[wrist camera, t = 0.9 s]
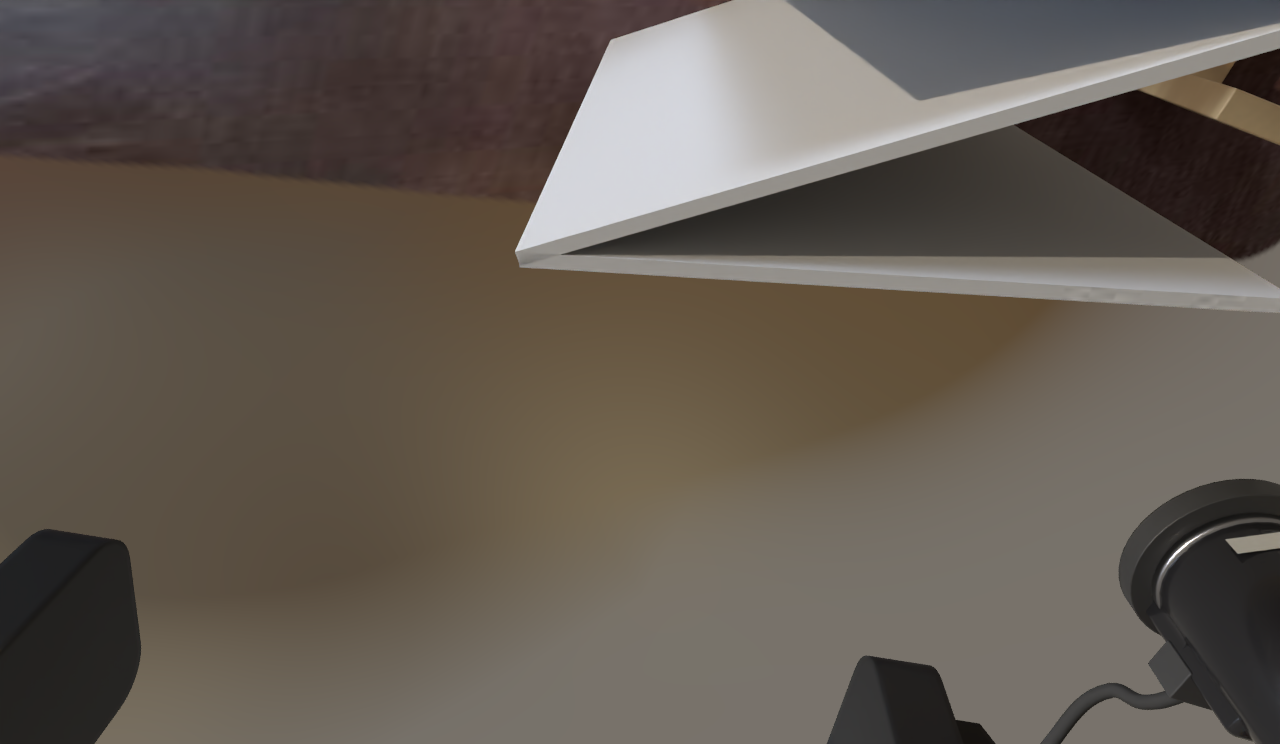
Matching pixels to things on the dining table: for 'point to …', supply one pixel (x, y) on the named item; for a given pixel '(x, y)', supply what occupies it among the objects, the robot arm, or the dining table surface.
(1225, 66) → the bookend
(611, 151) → the brochure
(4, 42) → the dining table surface
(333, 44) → the dining table surface
